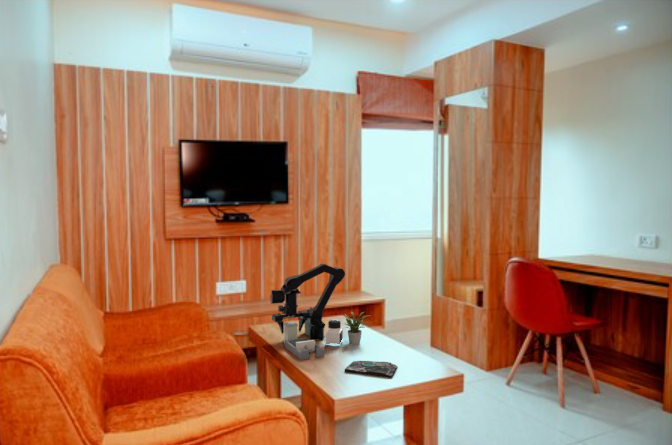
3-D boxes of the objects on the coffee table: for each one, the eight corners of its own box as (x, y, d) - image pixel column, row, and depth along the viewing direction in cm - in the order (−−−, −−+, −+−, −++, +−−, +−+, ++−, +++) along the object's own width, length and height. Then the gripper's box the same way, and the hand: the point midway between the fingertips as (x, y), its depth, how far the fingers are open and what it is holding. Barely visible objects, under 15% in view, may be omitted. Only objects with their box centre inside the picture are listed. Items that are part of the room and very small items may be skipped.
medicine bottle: (339, 347, 235) (340, 322, 234) (325, 346, 236) (325, 322, 235) (342, 342, 242) (342, 319, 241) (328, 341, 243) (329, 318, 242)
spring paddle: (295, 352, 225) (295, 342, 225) (313, 350, 229) (313, 339, 229) (301, 357, 218) (301, 346, 218) (320, 354, 222) (320, 344, 222)
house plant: (371, 339, 247) (372, 308, 246) (370, 348, 234) (371, 315, 233) (344, 338, 249) (344, 307, 248) (341, 346, 235) (342, 313, 234)
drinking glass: (301, 331, 260) (301, 309, 259) (318, 329, 264) (318, 308, 264) (308, 336, 251) (308, 314, 250) (325, 334, 255) (325, 312, 255)
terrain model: (398, 367, 210) (398, 360, 210) (391, 380, 196) (392, 372, 195) (354, 361, 216) (354, 354, 216) (344, 373, 202) (344, 366, 202)
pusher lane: (284, 346, 235) (284, 338, 235) (307, 343, 240) (307, 335, 240) (300, 359, 216) (300, 351, 216) (324, 356, 221) (324, 347, 221)
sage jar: (293, 338, 247) (293, 321, 247) (297, 341, 243) (297, 324, 242) (283, 340, 245) (283, 322, 244) (287, 343, 240) (287, 325, 240)
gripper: (302, 297, 254) (302, 326, 255) (268, 300, 246) (268, 330, 247) (310, 301, 244) (310, 332, 245) (275, 305, 236) (275, 336, 237)
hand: (291, 332), depth 244 cm, fingers open, 9 cm apart
